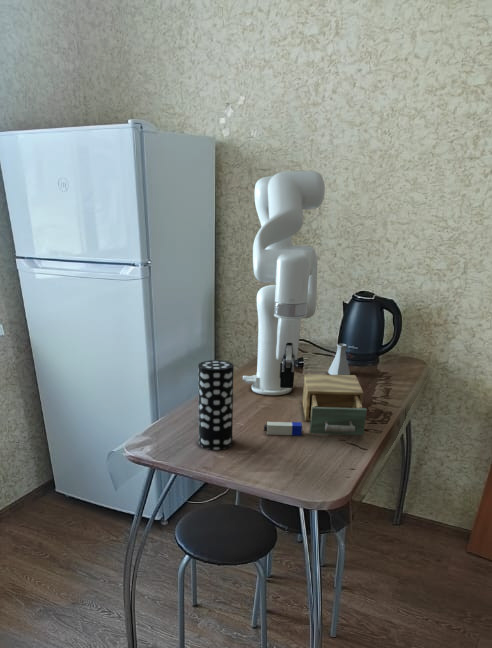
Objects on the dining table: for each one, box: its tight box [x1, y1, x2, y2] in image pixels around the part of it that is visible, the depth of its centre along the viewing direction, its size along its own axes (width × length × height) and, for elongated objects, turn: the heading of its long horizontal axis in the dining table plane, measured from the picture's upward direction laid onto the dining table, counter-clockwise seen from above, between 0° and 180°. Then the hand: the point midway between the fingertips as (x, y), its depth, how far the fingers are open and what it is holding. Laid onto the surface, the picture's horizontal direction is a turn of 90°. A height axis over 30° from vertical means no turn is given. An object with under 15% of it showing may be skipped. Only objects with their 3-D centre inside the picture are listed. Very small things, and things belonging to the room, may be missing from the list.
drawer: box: [309, 394, 368, 436], centre depth 149 cm, size 20×13×7 cm
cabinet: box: [302, 373, 364, 422], centre depth 162 cm, size 16×15×9 cm
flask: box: [327, 343, 351, 375], centre depth 194 cm, size 7×7×10 cm
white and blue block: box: [263, 421, 303, 437], centre depth 149 cm, size 10×3×3 cm, turn 84°
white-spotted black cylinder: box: [197, 359, 234, 451], centre depth 140 cm, size 8×8×20 cm
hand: (286, 382), depth 144 cm, fingers open, 6 cm apart
